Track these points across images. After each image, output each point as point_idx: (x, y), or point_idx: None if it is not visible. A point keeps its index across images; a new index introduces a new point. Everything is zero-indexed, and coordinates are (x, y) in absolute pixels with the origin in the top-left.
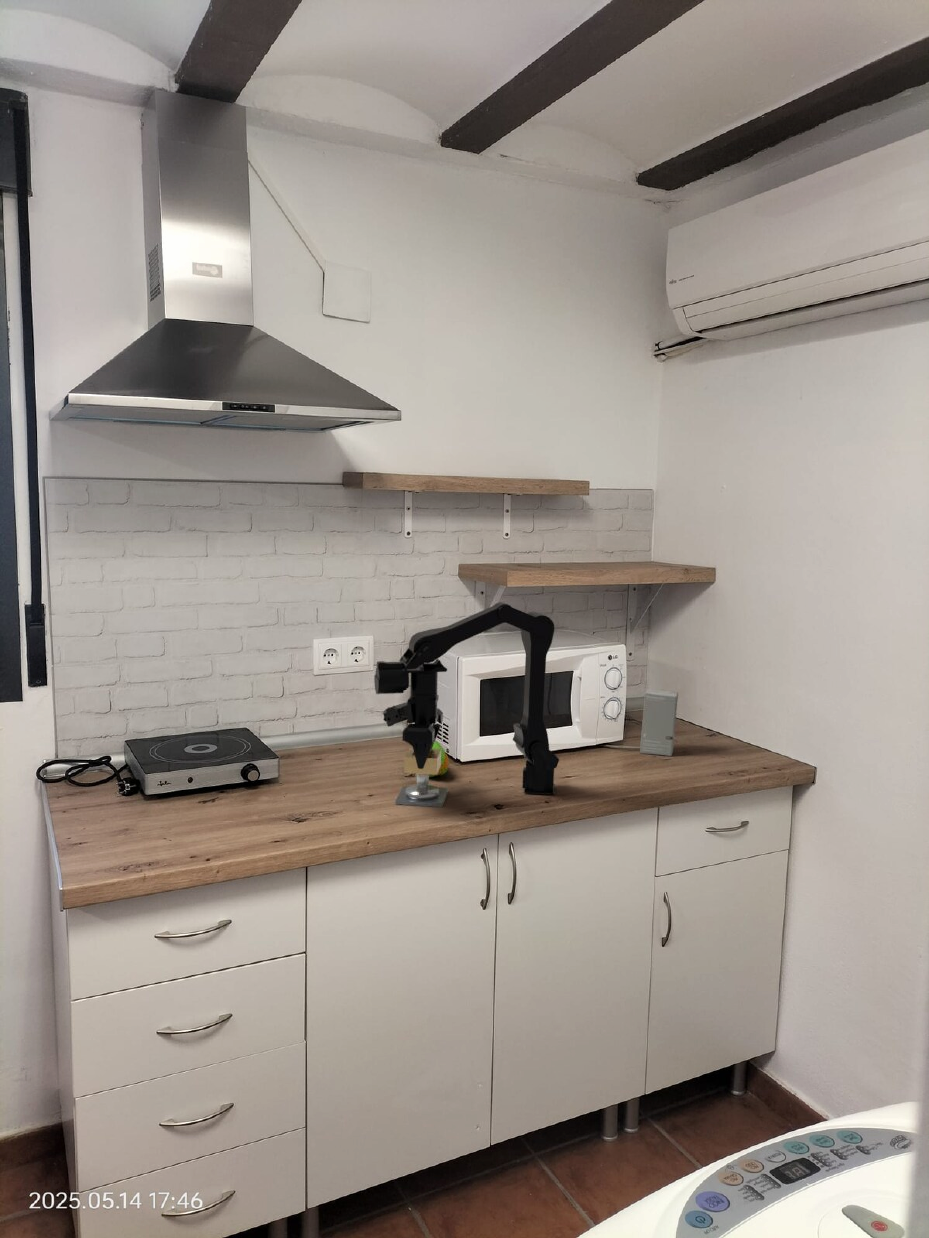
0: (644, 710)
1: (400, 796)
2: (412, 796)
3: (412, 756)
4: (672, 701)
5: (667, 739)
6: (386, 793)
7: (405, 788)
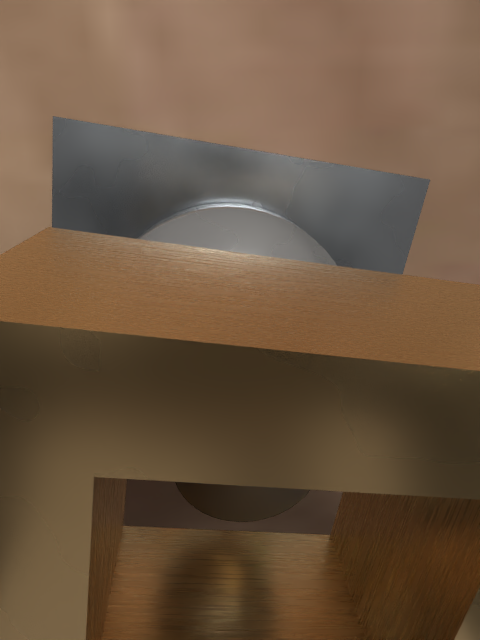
0: None
1: (170, 160)
2: None
3: (7, 496)
4: None
5: None
6: (335, 31)
7: (364, 199)
